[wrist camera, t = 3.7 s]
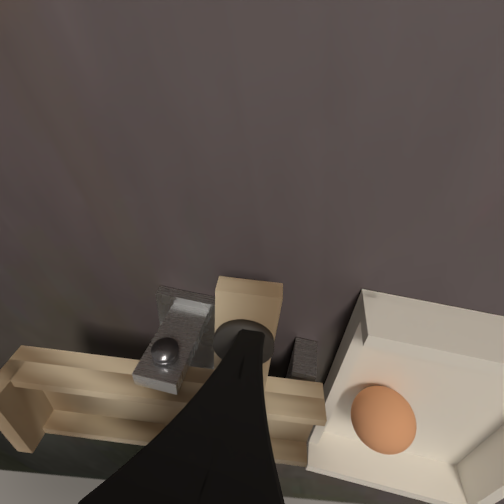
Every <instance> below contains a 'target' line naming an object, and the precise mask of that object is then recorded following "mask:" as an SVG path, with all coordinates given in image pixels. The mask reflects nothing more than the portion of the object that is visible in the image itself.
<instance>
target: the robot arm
mask: <svg viewBox="0 0 504 504" xmlns="http://www.w3.org/2000/svg"><path fill="white" fill-rule="evenodd" d="M264 339H265V334H264V333H263V332H259V331H252V330H246V329H242V330H240V331H239V333H238V335H237V337H236V339H235V340H234V342H233V344H232V345H231V347H230V349H229V350H228V352H227V353H226V355H225V356H224V358H223V359H222V361H221V362H220V363H219V365H218V366H217V367H216V369H215V370H214V372H213V373H212V374H211V376H210V377H209V378H208V379H207V381H206V382H205V383H204V384H203V386H202V387H201V388H200V389H199V391H198V392H197V393H196V394H195V395H194V397H193V398H192V399H191V400H190V401H189V402H188V403H187V405H186V406H185V407H184V408H183V409H182V410H181V411H180V412H179V413H178V414H177V415H176V416H175V417H174V419H173V420H172V421H171V422H170V423H169V424H168V425H167V426H166V427H165V428H164V429H163V430H162V431H161V432H160V433H159V434H158V435H157V436H156V437H154V438H153V439H152V440H151V441H150V442H149V443H148V444H147V445H146V446H145V447H144V448H143V449H141V450H140V451H139V452H138V453H137V454H136V455H135V456H134V457H132V458H131V459H130V460H129V461H128V462H127V463H126V464H125V465H123V466H122V467H121V468H120V469H119V470H118V471H116V472H115V473H114V474H113V475H112V476H110V477H109V478H108V479H107V480H105V481H104V482H103V483H102V484H100V485H99V486H98V487H97V488H95V489H94V490H93V491H92V492H90V493H89V494H88V495H87V496H85V497H84V498H83V499H82V500H81V501H80V502H79V503H78V504H285V503H284V499H283V495H282V491H281V486H280V482H279V478H278V474H277V470H276V465H275V460H274V455H273V450H272V445H271V439H270V434H269V427H268V421H267V414H266V406H265V397H264V384H263V345H264Z"/></svg>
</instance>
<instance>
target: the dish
mask: <svg viewBox="0 0 504 504" xmlns="http://www.w3.org/2000/svg"><path fill="white" fill-rule="evenodd" d="M370 386H385V387H388V388H391V389H393V390H395V391H396V392H398V393H399V394H400V395H402V396H403V397H404V398H405V399H406V400H407V402H408V403H409V404H410V406H411V408H412V410H413V412H414V415H415V418H416V426H417V429H416V435H415V438H414V440H413V442H412V444H411V445H410V446H409V447H408V448H407V449H406V450H405V451H403V452H401V453H398V454H393V455H387V454H381V453H378V452H376V451H374V450H372V449H370V448H369V447H368V446H366V445H365V444H364V443H363V442H362V441H361V440H360V438H359V437H358V436H357V434H356V432H355V430H354V428H353V425H352V421H351V406H352V403H353V400H354V399H355V397H356V395H357V394H358V393H359V392H360V391H362V390H363V389H365V388H367V387H370ZM323 391H324V400H325V408H326V417H327V422H326V424H325V426H317V425H313V428H312V430H311V432H310V435H309V437H308V440H307V462H308V463H307V465H306V470H309V471H313V472H316V473H320V474H324V475H328V476H331V477H335V478H339V479H343V480H346V481H350V482H354V483H358V484H361V485H365V486H369V487H372V488H376V489H380V490H384V491H387V492H391V493H395V494H399V495H402V496H406V497H410V498H414V499H417V500H421V501H425V502H428V503H432V504H494V503H496V502H498V501H499V500H501V499H503V498H504V316H499V315H494V314H489V313H484V312H479V311H474V310H468V309H463V308H458V307H453V306H448V305H443V304H437V303H432V302H427V301H422V300H417V299H412V298H406V297H401V296H396V295H391V294H386V293H381V292H375V291H370V290H365V289H362V290H361V293H360V295H359V298H358V300H357V303H356V305H355V308H354V310H353V313H352V315H351V318H350V320H349V323H348V326H347V328H346V331H345V333H344V336H343V338H342V341H341V343H340V346H339V348H338V351H337V353H336V356H335V359H334V361H333V364H332V366H331V369H330V371H329V374H328V376H327V379H326V381H325V384H324V386H323Z"/></svg>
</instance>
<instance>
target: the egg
mask: <svg viewBox="0 0 504 504" xmlns="http://www.w3.org/2000/svg"><path fill="white" fill-rule="evenodd" d="M351 421H352V425H353V428H354V430H355V432H356V434H357V436H358V437H359V438H360V440H361V441H362V442H363V443H364V444H365V445H366V446H368V447H369V448H370V449H372V450H374V451H376V452H378V453H381V454H387V455H393V454H398V453H401V452H403V451H405V450H406V449H407V448H408V447H409V446H410V445H411V444H412V442H413V440H414V438H415V435H416V429H417V426H416V418H415V415H414V412H413V410H412V408H411V406H410V404H409V403H408V402H407V400H406V399H405V398H404V397H403V396H402V395H400V394H399V393H398V392H396V391H395V390H393V389H391V388H388V387H385V386H370V387H367V388H365V389H363V390H362V391H360V392H359V393H358V394H357V395H356V397H355V399H354V400H353V403H352V406H351Z"/></svg>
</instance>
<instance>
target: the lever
mask: <svg viewBox="0 0 504 504" xmlns="http://www.w3.org/2000/svg"><path fill="white" fill-rule="evenodd" d="M282 300H283V283H274V282H266V281H257V280H249V279H241V278H232V277H224V276H219V279H218V282H217V286H216V290H215V335H214V339H213V349H214V369H207V368H199V367H191V366H189V368H188V371H187V373H186V375H185V378H184V380H183V382H182V385H181V387H180V389H179V392H178V394H177V395H175V394H171V393H167V392H163V391H159V390H155V389H151V388H147V387H143V386H139V385H135V384H134V380H133V376H132V373H133V371H134V369H135V368H136V366H137V364H138V363H139V361H140V360H135V359H127V358H119V357H111V356H103V355H95V354H87V353H79V352H71V351H63V350H55V349H47V348H39V347H31V346H23V345H21V346H20V347H19V349H18V350H17V351H16V352H15V353H14V354H13V356H12V357H11V358H10V359H9V360H8V361H7V363H6V364H5V365H4V366H3V367H2V368H1V370H0V431H1V432H2V433H3V434H4V436H5V437H6V438H7V439H8V440H9V441H10V443H11V444H12V445H13V446H14V447H15V449H16V450H17V451H20V452H27V453H33V452H34V450H35V449H36V447H37V445H38V444H39V442H40V440H41V439H42V437H43V436H44V434H45V433H51V434H59V435H66V436H74V437H82V438H89V439H97V440H105V441H112V442H120V443H128V444H135V445H143V446H146V445H147V444H148V443H149V442H150V441H151V440H152V439H153V438H154V437H156V436H157V435H158V434H159V433H160V432H161V431H162V430H163V429H164V428H165V427H166V426H167V425H168V424H169V423H170V422H171V421H172V420H173V419H174V417H175V416H176V415H177V414H178V413H179V412H180V411H181V410H182V409H183V408H184V407H185V406H186V405H187V403H188V402H189V401H190V400H191V399H192V398H193V397H194V395H195V394H196V393H197V392H198V391H199V389H200V388H201V387H202V386H203V384H204V383H205V382H206V381H207V379H208V378H209V377H210V376H211V374H212V373H213V372H214V370H215V369H216V367H217V366H218V365H219V363H220V362H221V361H222V359H223V358H224V356H225V355H226V353H227V352H228V350H229V349H230V347H231V345H232V344H233V342H234V340H235V339H236V337H237V335H238V333H239V331H240V330H242V329H246V330H252V331H259V332H263V333H264V334H265V339H264V345H263V384H264V397H265V406H266V414H267V421H268V427H269V434H270V439H271V445H272V450H273V455H274V460H275V463H280V464H288V465H296V466H303V467H306V465H307V463H308V462H307V444H306V442H307V440H308V437H309V435H310V432H311V430H312V428H313V425H317V426H325V424H326V422H327V417H326V408H325V400H324V391H323V383H319V382H311V381H303V380H295V379H287V378H279V377H271V376H268V371H269V366H270V361H271V357H272V355H273V352H274V340H275V335H276V330H277V325H278V320H279V315H280V310H281V305H282Z"/></svg>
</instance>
